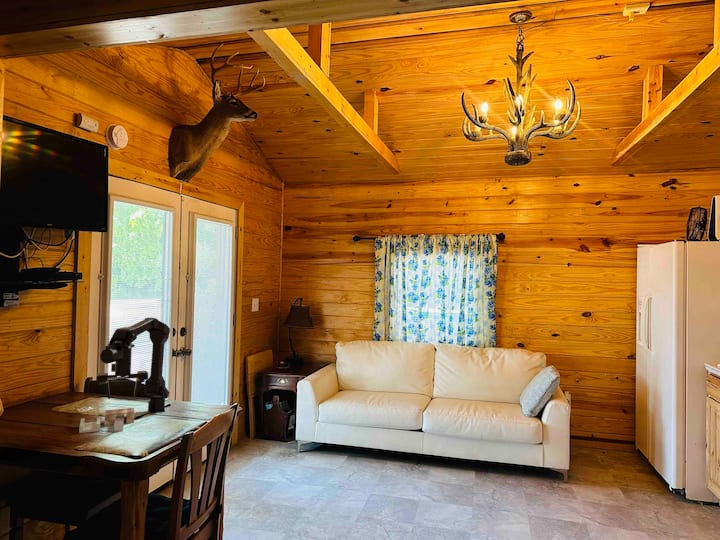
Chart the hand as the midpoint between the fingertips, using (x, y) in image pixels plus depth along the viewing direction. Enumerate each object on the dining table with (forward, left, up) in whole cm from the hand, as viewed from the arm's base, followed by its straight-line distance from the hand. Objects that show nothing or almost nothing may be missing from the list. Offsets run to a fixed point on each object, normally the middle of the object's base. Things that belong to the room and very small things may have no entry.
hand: (121, 397), depth 193 cm
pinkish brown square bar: (0, -4, -12) cm, 13 cm away
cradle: (+11, -3, -12) cm, 17 cm away
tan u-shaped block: (0, -8, -12) cm, 15 cm away
